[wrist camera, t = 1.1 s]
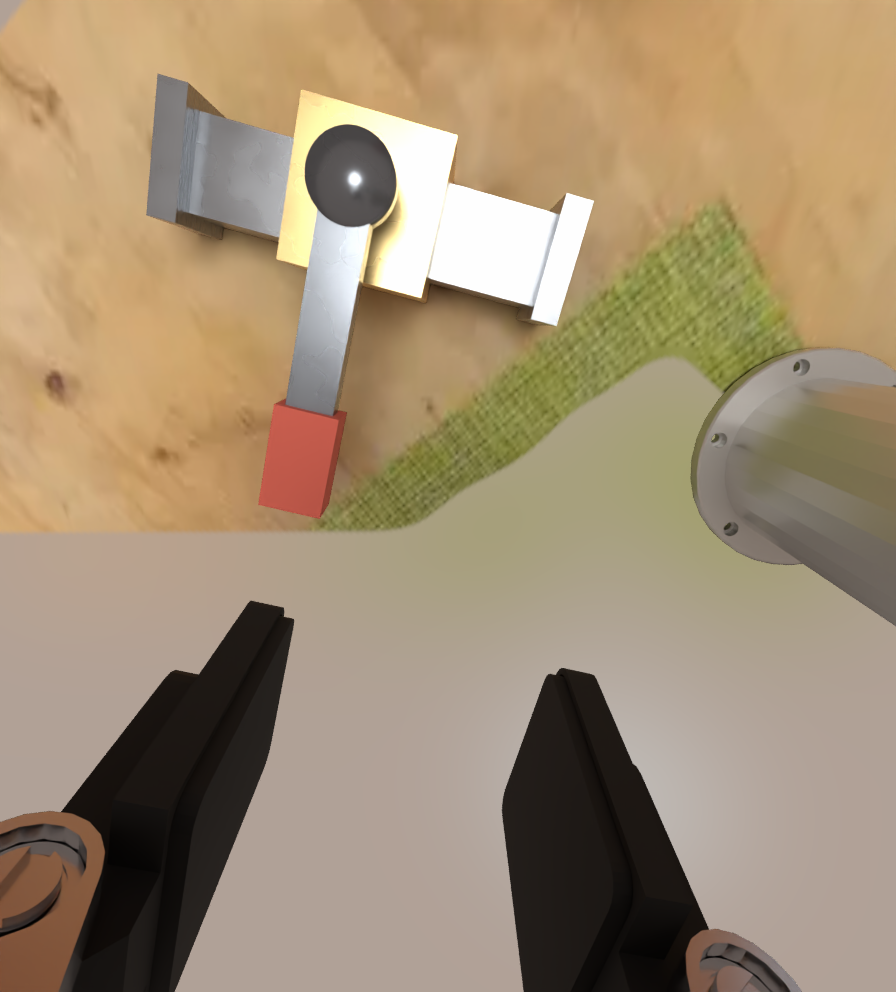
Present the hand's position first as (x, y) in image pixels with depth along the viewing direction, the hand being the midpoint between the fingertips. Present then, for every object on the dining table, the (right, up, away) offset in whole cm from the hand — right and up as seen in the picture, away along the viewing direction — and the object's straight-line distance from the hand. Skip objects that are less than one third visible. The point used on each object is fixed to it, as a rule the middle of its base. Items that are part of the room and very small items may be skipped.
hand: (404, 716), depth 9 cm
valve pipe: (-3, +17, +19) cm, 26 cm away
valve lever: (-4, +10, +12) cm, 16 cm away
